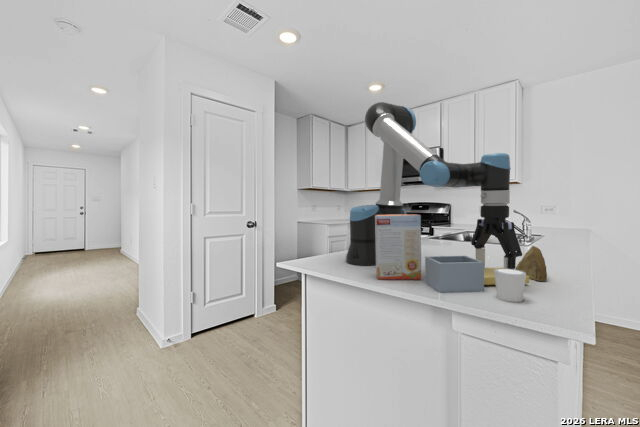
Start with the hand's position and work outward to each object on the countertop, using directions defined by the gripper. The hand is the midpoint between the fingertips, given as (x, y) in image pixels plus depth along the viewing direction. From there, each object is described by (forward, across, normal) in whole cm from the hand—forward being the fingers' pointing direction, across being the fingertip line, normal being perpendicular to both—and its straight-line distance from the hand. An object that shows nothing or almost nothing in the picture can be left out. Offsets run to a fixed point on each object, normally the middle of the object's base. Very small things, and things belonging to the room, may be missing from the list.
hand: (493, 273), depth 89 cm
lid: (+2, 0, 0) cm, 2 cm away
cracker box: (+3, -7, -28) cm, 29 cm away
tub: (+2, +4, -15) cm, 16 cm away
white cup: (+3, +15, -6) cm, 16 cm away
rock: (+3, -3, +14) cm, 15 cm away
